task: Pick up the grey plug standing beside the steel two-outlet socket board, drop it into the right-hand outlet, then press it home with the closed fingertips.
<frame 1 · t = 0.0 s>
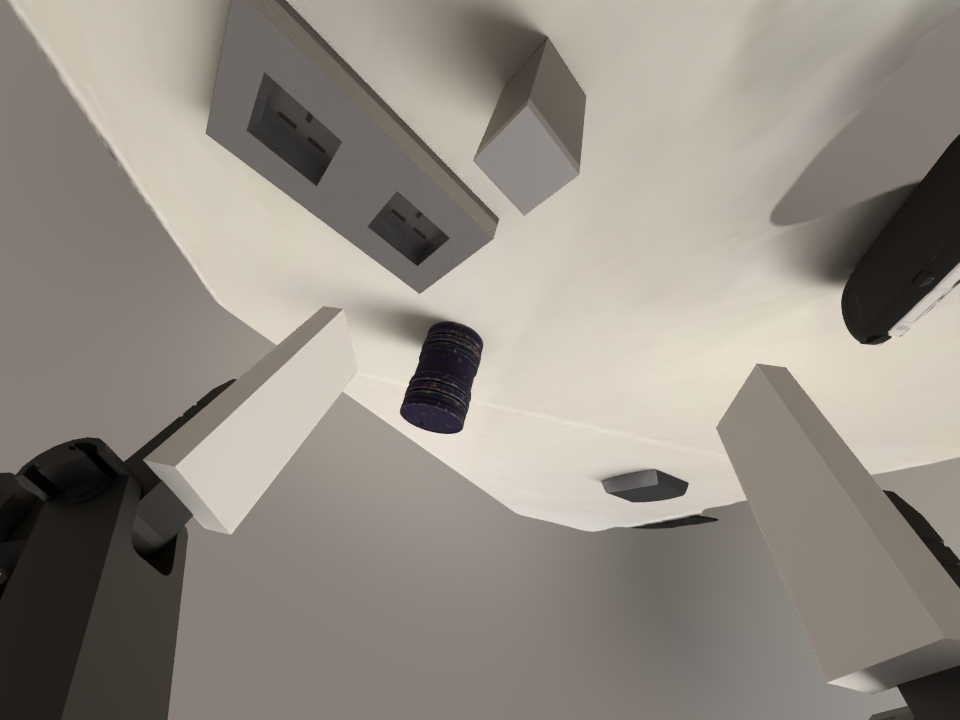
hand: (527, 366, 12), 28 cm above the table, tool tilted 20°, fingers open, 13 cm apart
storage jar: (455, 339, 60), on the table
socket board: (369, 170, 37), on the table
external hard drive: (642, 479, 98), on the table
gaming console: (896, 213, 31), on the table
plug: (544, 91, 29), on the table
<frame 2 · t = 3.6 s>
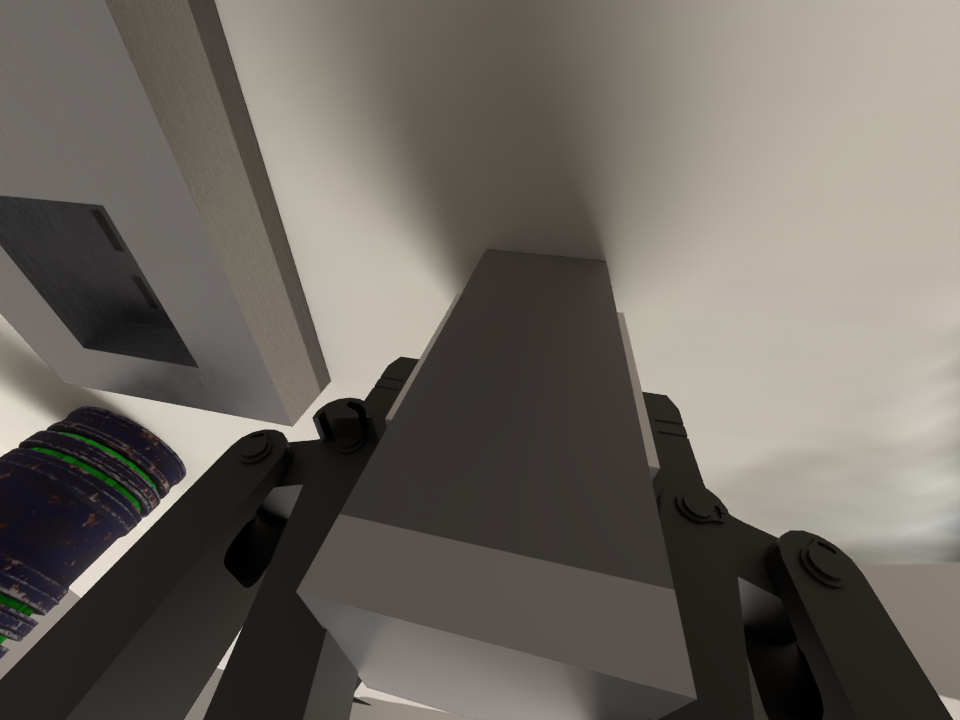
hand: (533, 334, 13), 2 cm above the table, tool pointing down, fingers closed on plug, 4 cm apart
storage jar: (134, 445, 31), on the table
socket board: (79, 90, 13), on the table
plug: (536, 313, 15), on the table, touching gripper
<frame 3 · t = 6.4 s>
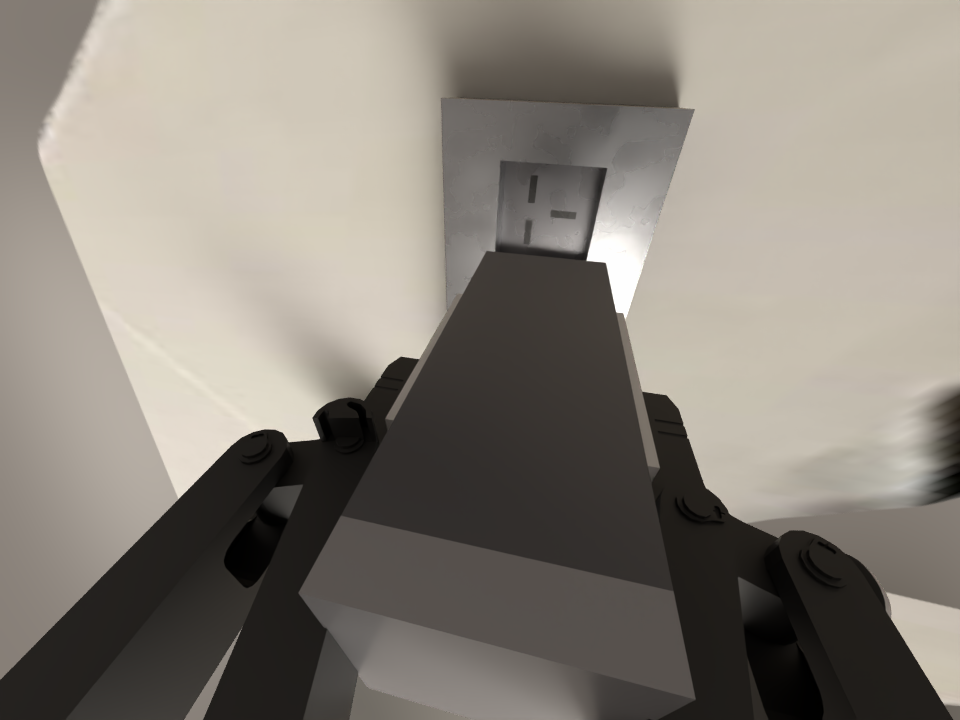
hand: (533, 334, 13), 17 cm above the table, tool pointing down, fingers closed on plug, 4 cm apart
socket board: (536, 289, 30), on the table
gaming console: (764, 560, 47), on the table
plug: (536, 314, 15), point 15 cm above the table, touching gripper
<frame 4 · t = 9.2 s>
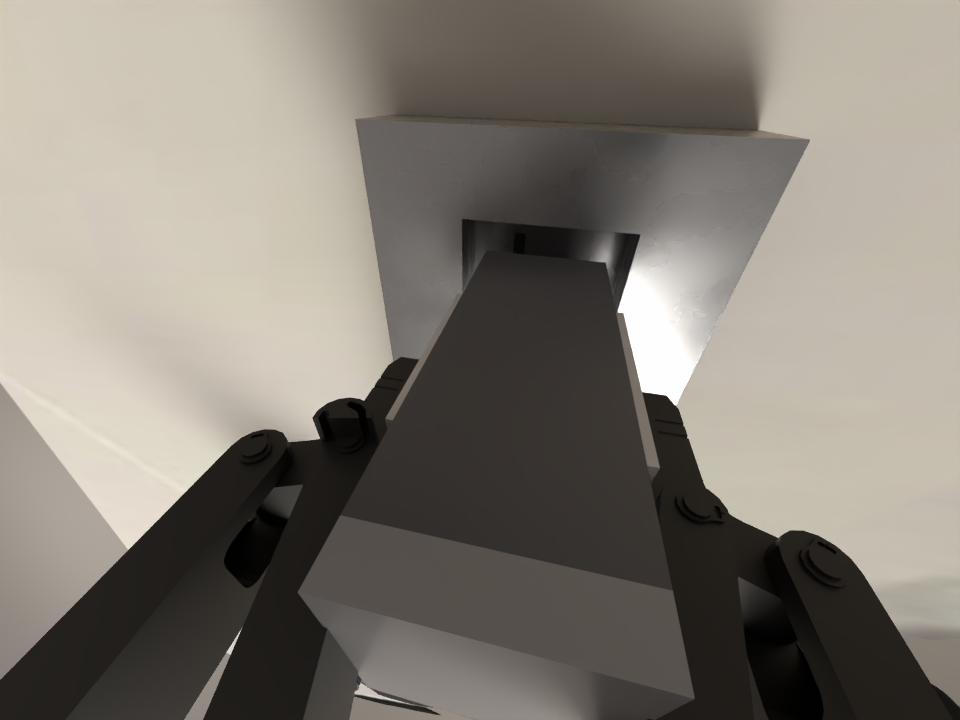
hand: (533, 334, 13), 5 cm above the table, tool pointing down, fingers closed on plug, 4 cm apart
socket board: (527, 376, 22), on the table
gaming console: (816, 671, 38), on the table
plug: (536, 314, 15), point 4 cm above the table, touching gripper
when the fingers open (5 cm above the table, at t = 9.4 s): plug drops 3 cm, resting on socket board.
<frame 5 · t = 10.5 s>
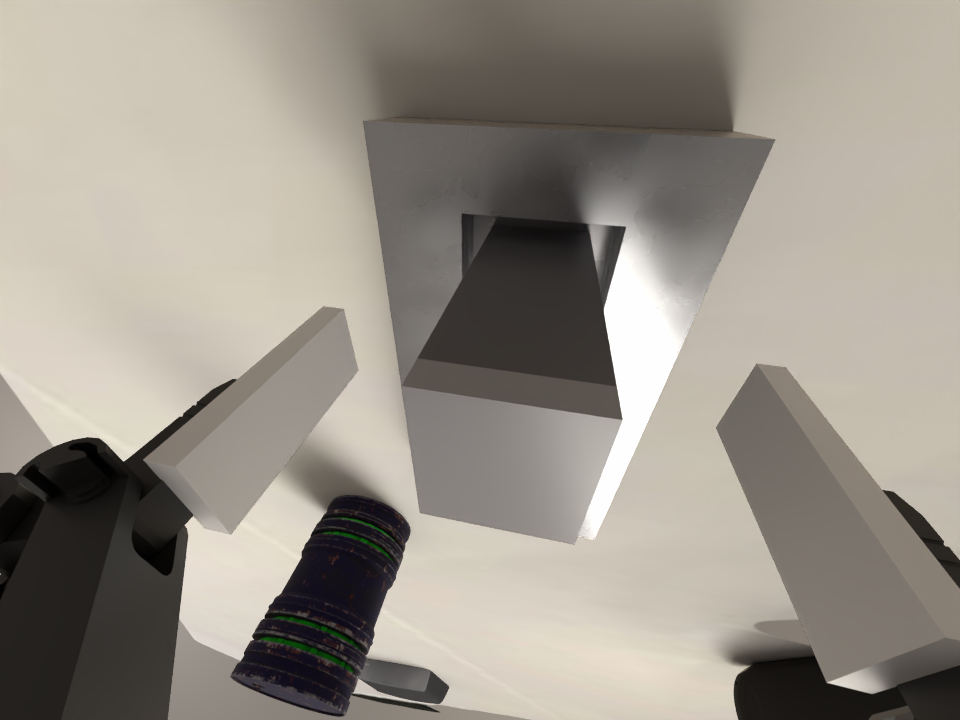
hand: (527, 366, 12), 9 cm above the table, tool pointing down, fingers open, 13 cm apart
storage jar: (370, 518, 40), on the table
socket board: (524, 365, 23), on the table
external hard drive: (404, 668, 83), on the table
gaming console: (805, 654, 39), on the table
plug: (534, 278, 18), point 1 cm above the table, touching socket board
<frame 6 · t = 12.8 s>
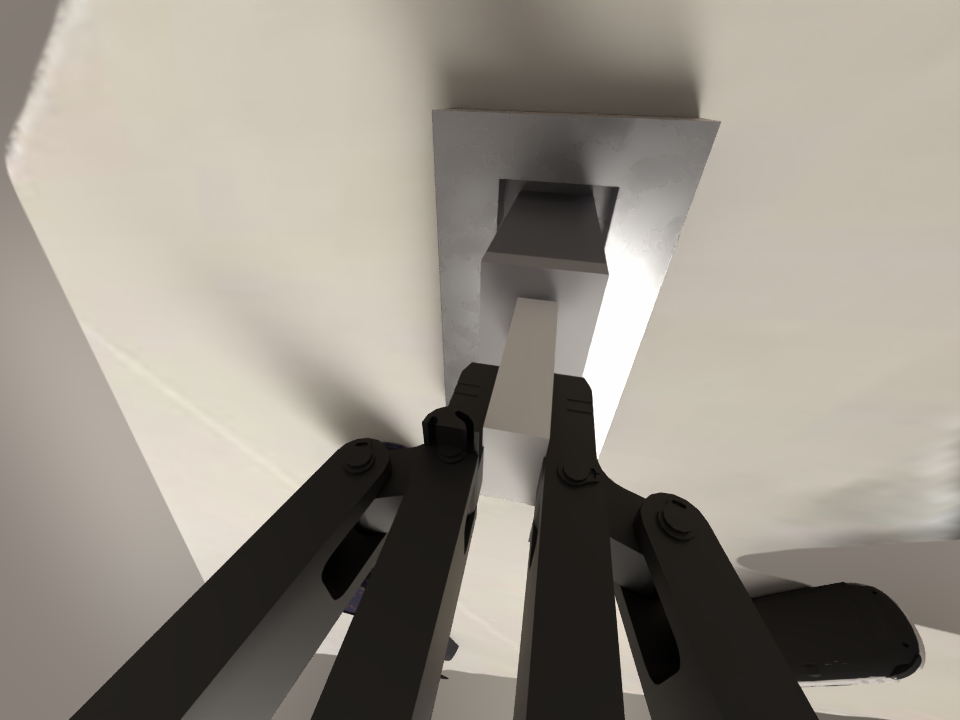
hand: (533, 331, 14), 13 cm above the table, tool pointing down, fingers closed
storage jar: (399, 465, 46), on the table
socket board: (539, 312, 28), on the table
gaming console: (783, 589, 44), on the table
plug: (550, 234, 23), point 1 cm above the table, touching gripper, socket board
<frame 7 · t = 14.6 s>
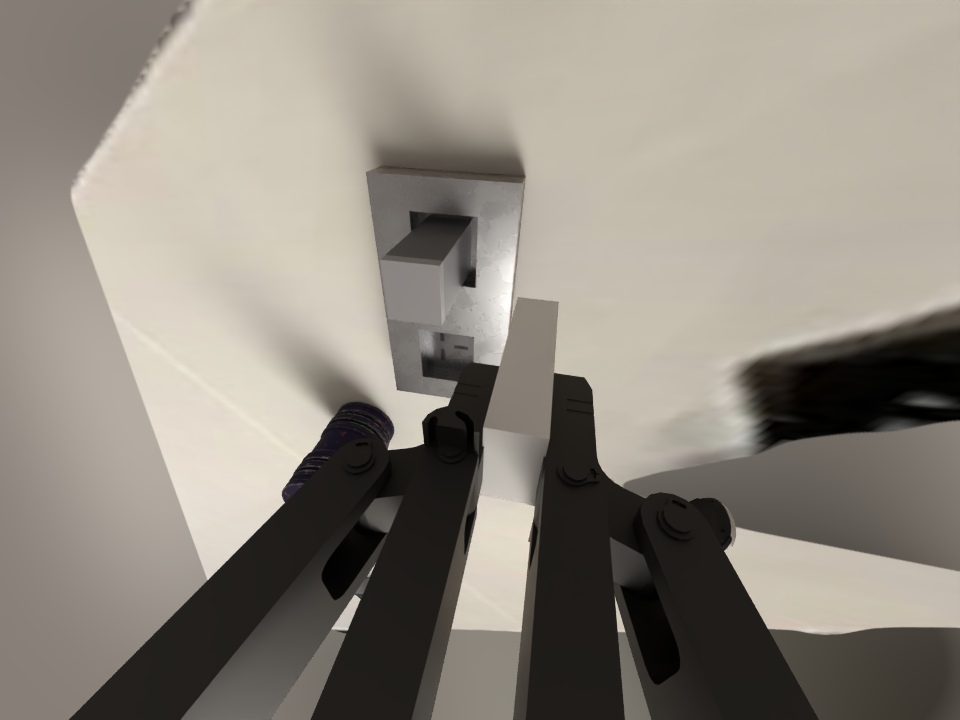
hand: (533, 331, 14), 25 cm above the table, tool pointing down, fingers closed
storage jar: (366, 422, 58), on the table
socket board: (453, 295, 41), on the table
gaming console: (661, 510, 58), on the table
plug: (450, 243, 36), point 1 cm above the table, touching socket board
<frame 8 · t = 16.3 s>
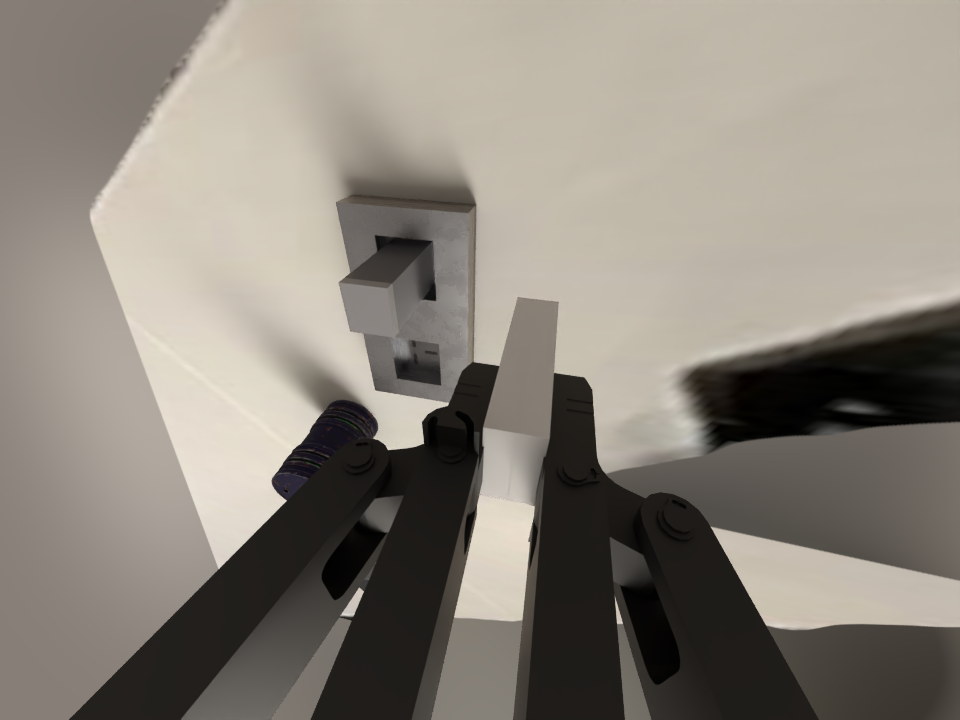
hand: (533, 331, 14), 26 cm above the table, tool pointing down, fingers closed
storage jar: (353, 419, 63), on the table
socket board: (421, 306, 46), on the table
plug: (414, 261, 41), point 1 cm above the table, touching socket board
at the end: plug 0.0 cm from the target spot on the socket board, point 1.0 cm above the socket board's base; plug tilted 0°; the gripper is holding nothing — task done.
